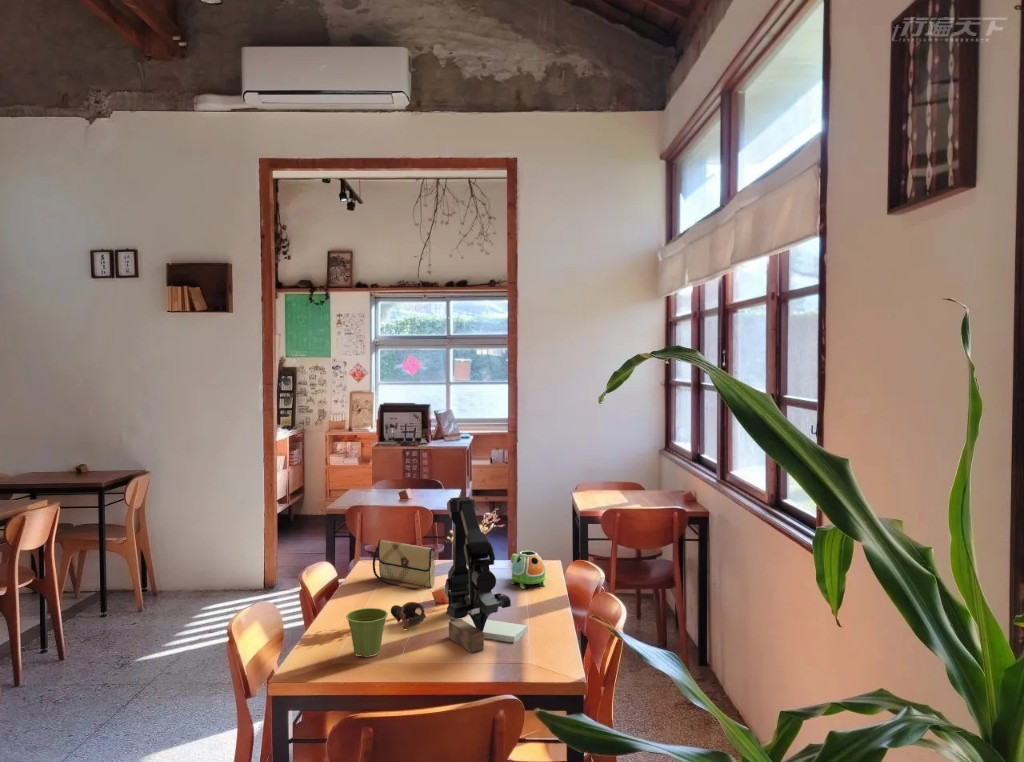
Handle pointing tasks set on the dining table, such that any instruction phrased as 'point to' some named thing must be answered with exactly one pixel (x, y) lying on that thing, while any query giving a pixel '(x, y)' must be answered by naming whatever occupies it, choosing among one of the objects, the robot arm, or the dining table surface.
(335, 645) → the dining table surface
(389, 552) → the clutch purse
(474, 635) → the folding leg
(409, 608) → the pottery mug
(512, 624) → the pale green flat block
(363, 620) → the plant pot
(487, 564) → the robot arm
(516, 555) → the turtle holder
